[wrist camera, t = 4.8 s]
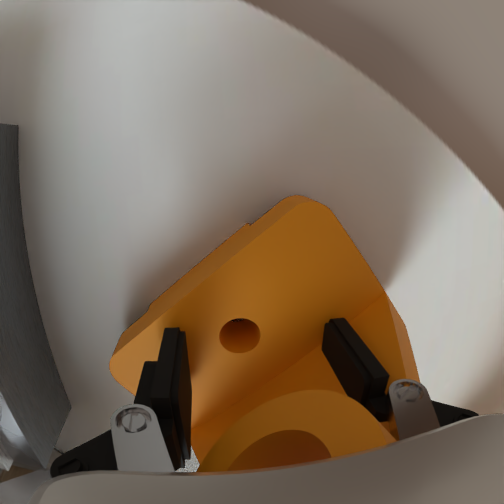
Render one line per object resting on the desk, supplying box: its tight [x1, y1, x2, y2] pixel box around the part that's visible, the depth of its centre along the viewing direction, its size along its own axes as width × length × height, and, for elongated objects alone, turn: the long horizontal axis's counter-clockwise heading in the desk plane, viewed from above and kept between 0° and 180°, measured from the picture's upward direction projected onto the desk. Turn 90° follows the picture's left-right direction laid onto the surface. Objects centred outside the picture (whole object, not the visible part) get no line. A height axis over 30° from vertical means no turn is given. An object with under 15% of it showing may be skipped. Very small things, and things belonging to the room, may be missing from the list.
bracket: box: [109, 195, 420, 472], centre depth 9 cm, size 11×7×12 cm
